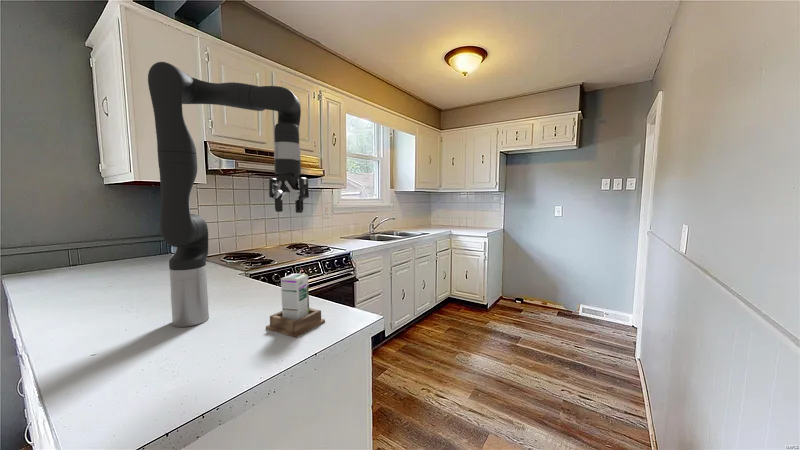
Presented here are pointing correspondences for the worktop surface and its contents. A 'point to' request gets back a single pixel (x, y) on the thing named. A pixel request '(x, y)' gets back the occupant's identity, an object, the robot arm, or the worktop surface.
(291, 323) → the walnut socket
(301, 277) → the syrup box
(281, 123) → the robot arm
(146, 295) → the worktop surface
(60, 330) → the worktop surface
